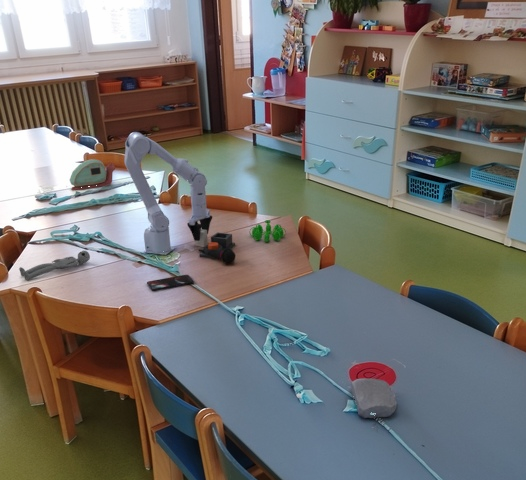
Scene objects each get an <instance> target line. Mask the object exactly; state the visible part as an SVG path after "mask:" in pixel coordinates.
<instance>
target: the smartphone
mask: <svg viewBox="0 0 526 480" xmlns="http://www.w3.org/2000/svg"><path fill="white" fill-rule="evenodd" d="M194 283H195V282H194V279H193V278H192V277H191V276H190V275H189V274H182V275H176V276H171V277H164V278H160V279H154V280H149V281H147V282H146V284H147V286H148V287H149V288H150V290H151V291H159V290H165V289H170V288H175V287H180V286H181V287H182V286H185V285H191V284H194Z"/></svg>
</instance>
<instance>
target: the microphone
mask: <svg viewBox="0 0 526 480" xmlns="http://www.w3.org/2000/svg"><path fill="white" fill-rule="evenodd" d="M198 252H200V253H202V252H203V253H205V251H204V248H202V249H198ZM208 255H210V256H212V257H215V258H218V259H219V260H221V261H222V263H223V264H226V265H229V264H232V263H234V261H235V260H236V253H235V251H233V249H225V250H224V251H222V250H214V249H211V251H209V252H208ZM218 259H217V260H218Z"/></svg>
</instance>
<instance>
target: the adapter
mask: <svg viewBox="0 0 526 480" xmlns="http://www.w3.org/2000/svg"><path fill="white" fill-rule="evenodd" d="M235 246H236V242H233V241H232V244H231V245H230V246H229V247H228V248H222V246H221V245H218V249H215V250H222V251H224V250H225V249H231V250H233V248H234V247H235ZM203 249H204V251H205V253H203V252H200V253H199V258H203V259H204V258H205V259H211V260H218V261H219V260H220V259H218V258H215V257H212V256H210V255H208V252H209V251H211V249H208V244H207V245H206V246H205V247H203Z"/></svg>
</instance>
